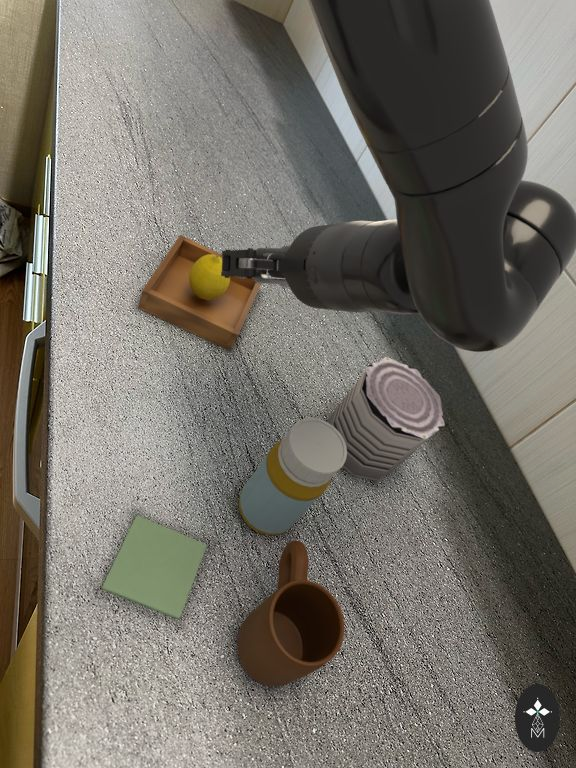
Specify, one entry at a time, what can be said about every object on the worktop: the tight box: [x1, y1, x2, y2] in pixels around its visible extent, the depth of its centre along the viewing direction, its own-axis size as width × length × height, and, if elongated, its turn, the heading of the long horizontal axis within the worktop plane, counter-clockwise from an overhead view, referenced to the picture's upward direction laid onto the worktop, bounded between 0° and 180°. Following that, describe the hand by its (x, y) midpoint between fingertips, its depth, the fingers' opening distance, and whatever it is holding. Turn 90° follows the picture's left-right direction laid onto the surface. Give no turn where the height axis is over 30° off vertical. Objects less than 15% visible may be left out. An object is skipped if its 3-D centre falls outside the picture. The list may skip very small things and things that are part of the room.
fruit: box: [189, 254, 230, 300], centre depth 79 cm, size 6×6×8 cm
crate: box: [137, 234, 262, 352], centre depth 81 cm, size 14×14×4 cm
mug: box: [236, 540, 345, 688], centre depth 55 cm, size 12×8×9 cm, turn 2°
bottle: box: [238, 417, 347, 536], centre depth 61 cm, size 7×7×15 cm
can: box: [327, 356, 446, 482], centre depth 73 cm, size 11×11×12 cm
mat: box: [101, 514, 208, 620], centre depth 58 cm, size 8×8×1 cm
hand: (265, 268), depth 63 cm, fingers open, 8 cm apart
